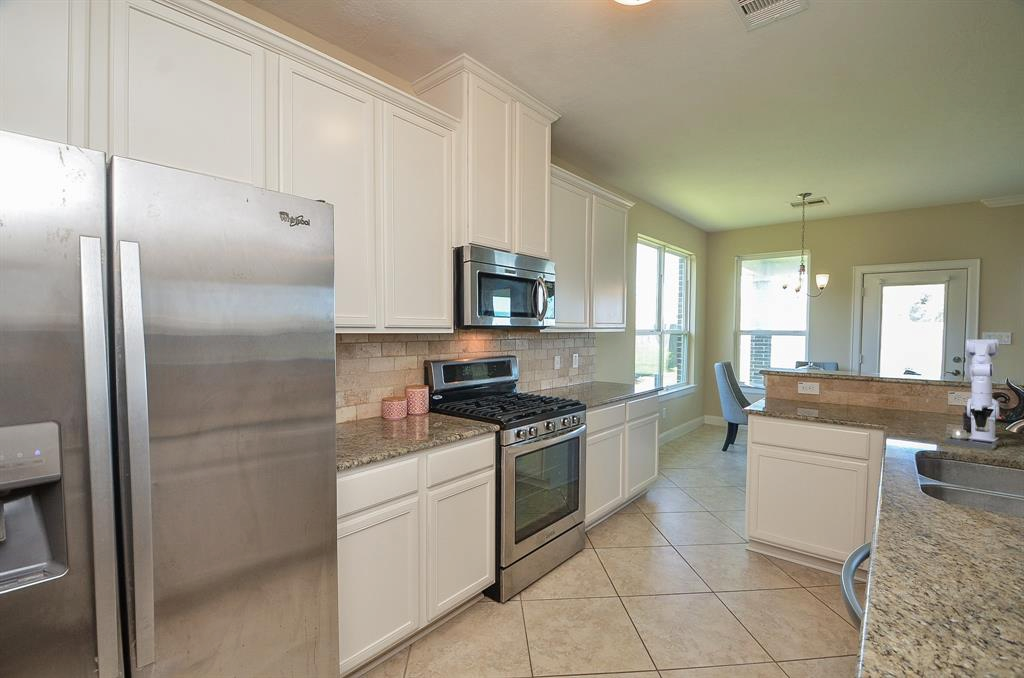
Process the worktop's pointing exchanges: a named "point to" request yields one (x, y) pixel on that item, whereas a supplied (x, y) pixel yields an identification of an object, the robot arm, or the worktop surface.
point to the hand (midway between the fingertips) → (982, 426)
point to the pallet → (972, 443)
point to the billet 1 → (959, 434)
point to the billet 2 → (983, 428)
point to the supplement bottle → (966, 421)
